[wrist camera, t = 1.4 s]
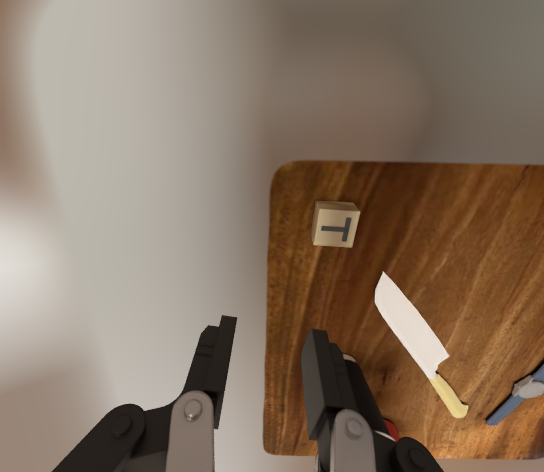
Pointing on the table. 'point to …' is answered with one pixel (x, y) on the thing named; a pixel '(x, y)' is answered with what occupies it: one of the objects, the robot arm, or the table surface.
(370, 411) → the dixie cup
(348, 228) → the letter tile
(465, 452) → the table surface
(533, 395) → the wristwatch
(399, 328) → the knife
